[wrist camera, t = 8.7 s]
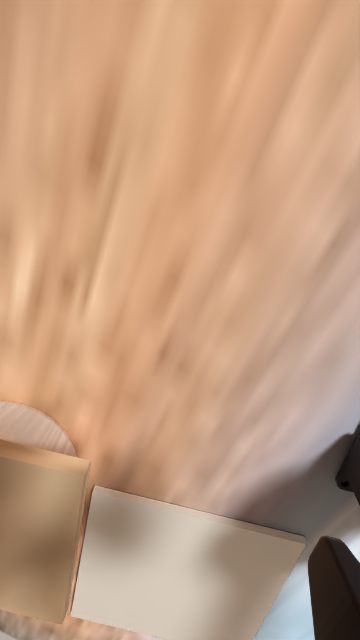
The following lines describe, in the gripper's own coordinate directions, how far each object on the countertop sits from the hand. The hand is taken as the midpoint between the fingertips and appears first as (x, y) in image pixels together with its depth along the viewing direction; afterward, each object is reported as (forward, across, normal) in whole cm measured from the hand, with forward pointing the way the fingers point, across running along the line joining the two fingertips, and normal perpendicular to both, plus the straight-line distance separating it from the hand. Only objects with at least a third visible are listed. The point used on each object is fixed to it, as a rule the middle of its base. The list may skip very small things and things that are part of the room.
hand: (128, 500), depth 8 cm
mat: (+12, -5, +23) cm, 27 cm away
